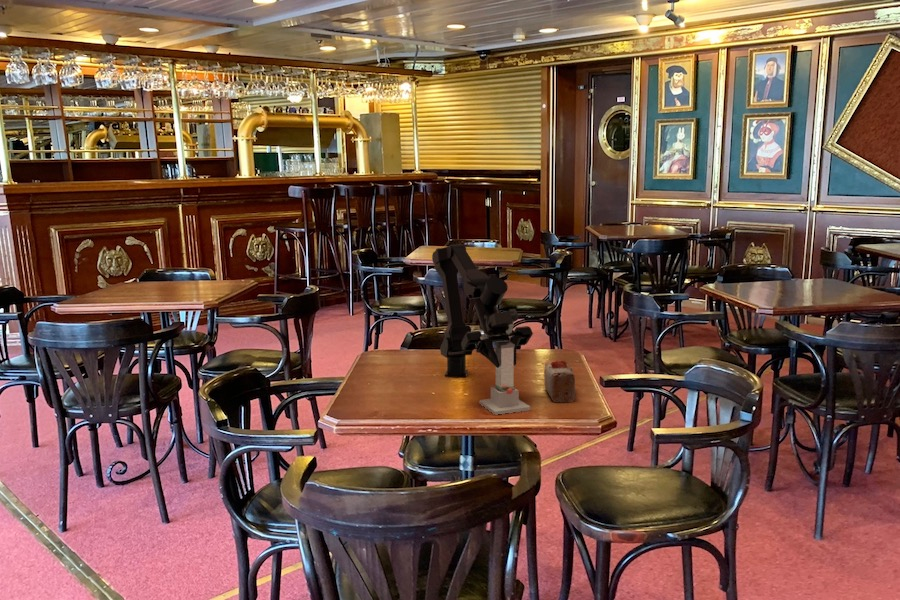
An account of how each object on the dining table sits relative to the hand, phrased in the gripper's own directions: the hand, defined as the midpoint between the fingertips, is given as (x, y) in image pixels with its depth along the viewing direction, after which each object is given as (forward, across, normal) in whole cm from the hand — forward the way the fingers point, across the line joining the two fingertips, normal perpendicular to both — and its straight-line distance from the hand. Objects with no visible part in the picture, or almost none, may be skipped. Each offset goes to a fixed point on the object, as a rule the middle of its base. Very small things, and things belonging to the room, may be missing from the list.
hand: (506, 366), depth 186 cm
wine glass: (-24, +20, +41) cm, 51 cm away
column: (+4, 0, +6) cm, 7 cm away
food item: (+5, +18, +12) cm, 22 cm away
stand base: (+7, 0, +9) cm, 12 cm away
